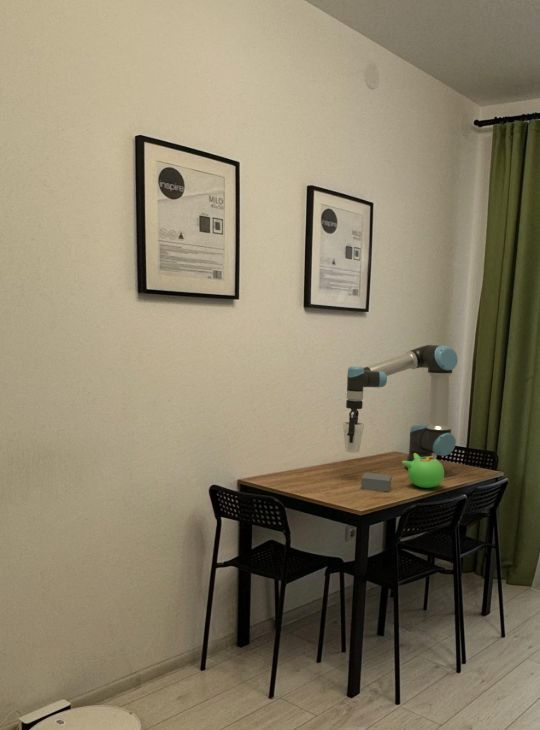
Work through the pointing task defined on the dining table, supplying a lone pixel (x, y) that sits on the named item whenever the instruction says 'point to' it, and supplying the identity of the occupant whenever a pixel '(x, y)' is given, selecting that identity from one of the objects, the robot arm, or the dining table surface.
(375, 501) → the dining table surface
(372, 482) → the base plinth
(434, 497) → the dining table surface
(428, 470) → the toy bird
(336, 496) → the dining table surface
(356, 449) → the foam cup
